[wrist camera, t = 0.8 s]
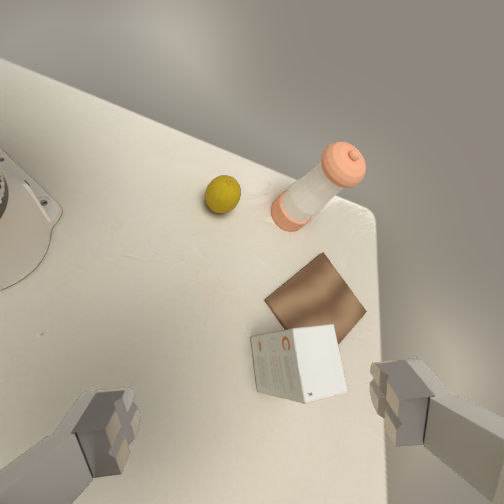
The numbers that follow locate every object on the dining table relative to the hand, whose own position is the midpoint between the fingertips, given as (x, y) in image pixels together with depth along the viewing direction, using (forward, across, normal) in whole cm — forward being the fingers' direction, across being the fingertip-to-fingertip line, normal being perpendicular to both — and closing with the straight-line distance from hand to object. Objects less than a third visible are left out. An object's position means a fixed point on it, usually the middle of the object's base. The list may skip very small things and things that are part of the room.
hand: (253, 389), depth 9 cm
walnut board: (+37, -11, +19) cm, 43 cm away
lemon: (+42, +5, 0) cm, 42 cm away
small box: (+29, -2, +23) cm, 37 cm away
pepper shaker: (+46, -8, +4) cm, 47 cm away
